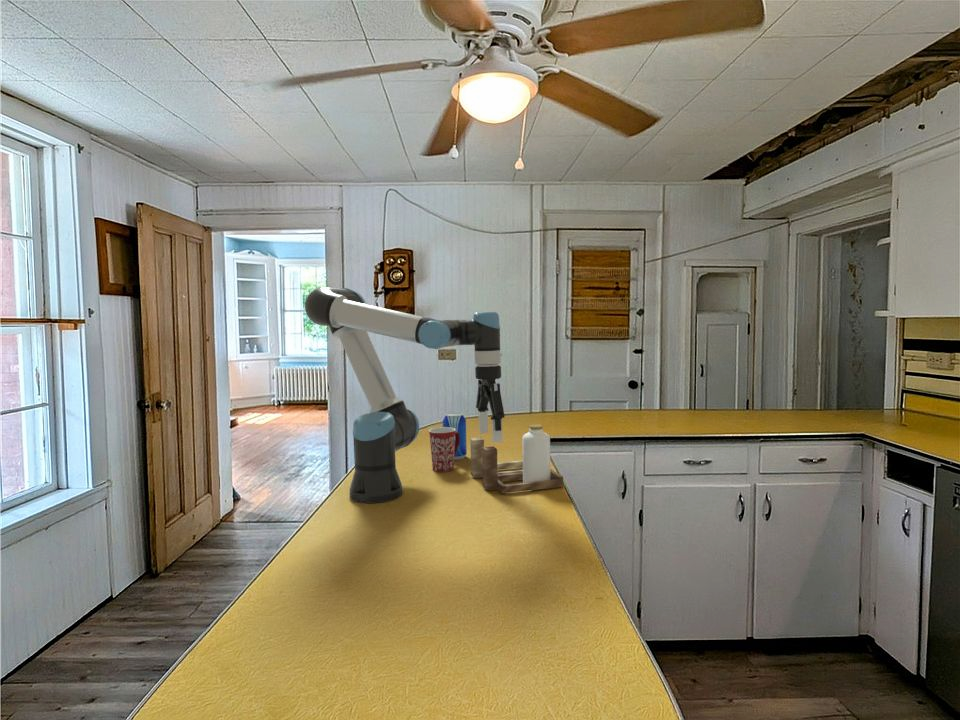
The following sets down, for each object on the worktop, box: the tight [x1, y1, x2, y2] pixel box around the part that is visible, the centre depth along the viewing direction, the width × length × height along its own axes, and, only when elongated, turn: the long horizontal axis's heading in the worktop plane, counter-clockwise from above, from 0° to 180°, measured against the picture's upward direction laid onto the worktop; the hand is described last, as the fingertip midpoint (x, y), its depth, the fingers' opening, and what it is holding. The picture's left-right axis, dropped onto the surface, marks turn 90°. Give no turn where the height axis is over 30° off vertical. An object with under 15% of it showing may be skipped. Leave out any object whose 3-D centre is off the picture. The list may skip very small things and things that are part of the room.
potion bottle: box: [521, 424, 551, 483], centre depth 171 cm, size 8×8×18 cm
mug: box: [428, 426, 460, 473], centre depth 192 cm, size 13×9×14 cm
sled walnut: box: [482, 446, 564, 494], centre depth 170 cm, size 22×12×12 cm, turn 106°
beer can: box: [442, 412, 468, 461], centre depth 206 cm, size 8×8×16 cm
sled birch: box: [469, 437, 523, 479], centre depth 183 cm, size 22×12×12 cm, turn 106°
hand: (490, 437), depth 167 cm, fingers open, 13 cm apart
